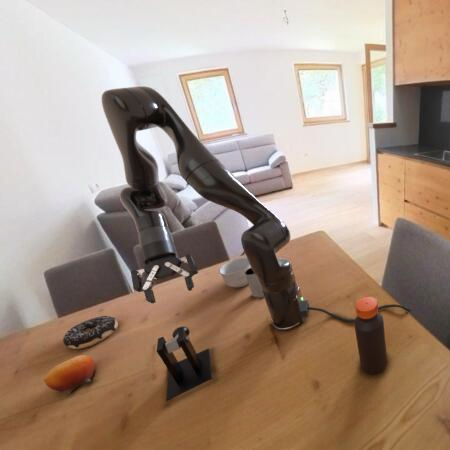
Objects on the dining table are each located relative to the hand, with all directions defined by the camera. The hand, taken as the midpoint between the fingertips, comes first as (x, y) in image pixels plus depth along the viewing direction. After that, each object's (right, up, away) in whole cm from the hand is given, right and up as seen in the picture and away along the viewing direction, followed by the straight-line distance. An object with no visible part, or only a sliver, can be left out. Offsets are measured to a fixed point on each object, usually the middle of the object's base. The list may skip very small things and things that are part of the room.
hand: (172, 296), depth 78 cm
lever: (+8, -10, -8) cm, 16 cm away
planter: (+15, -5, +20) cm, 25 cm away
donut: (-29, -14, +6) cm, 32 cm away
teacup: (+5, -1, +28) cm, 29 cm away
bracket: (+11, -18, -7) cm, 23 cm away
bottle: (+58, -16, -7) cm, 60 cm away
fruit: (-17, -20, -8) cm, 27 cm away
